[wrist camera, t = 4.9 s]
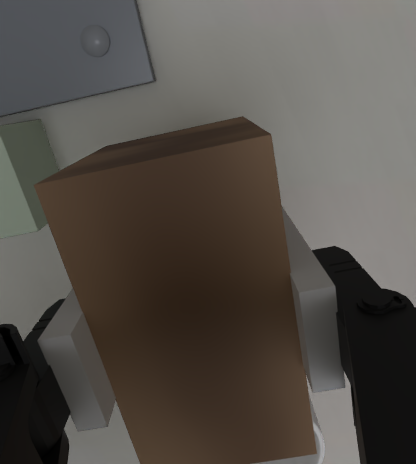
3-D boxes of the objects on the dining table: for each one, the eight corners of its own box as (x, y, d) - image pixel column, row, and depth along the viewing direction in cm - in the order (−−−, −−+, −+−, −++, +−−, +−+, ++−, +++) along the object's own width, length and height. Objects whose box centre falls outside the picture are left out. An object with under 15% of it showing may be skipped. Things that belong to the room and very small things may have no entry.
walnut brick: (166, 347, 16) (146, 479, 11) (106, 146, 13) (33, 185, 8) (278, 327, 16) (317, 453, 10) (242, 116, 13) (271, 134, 7)
